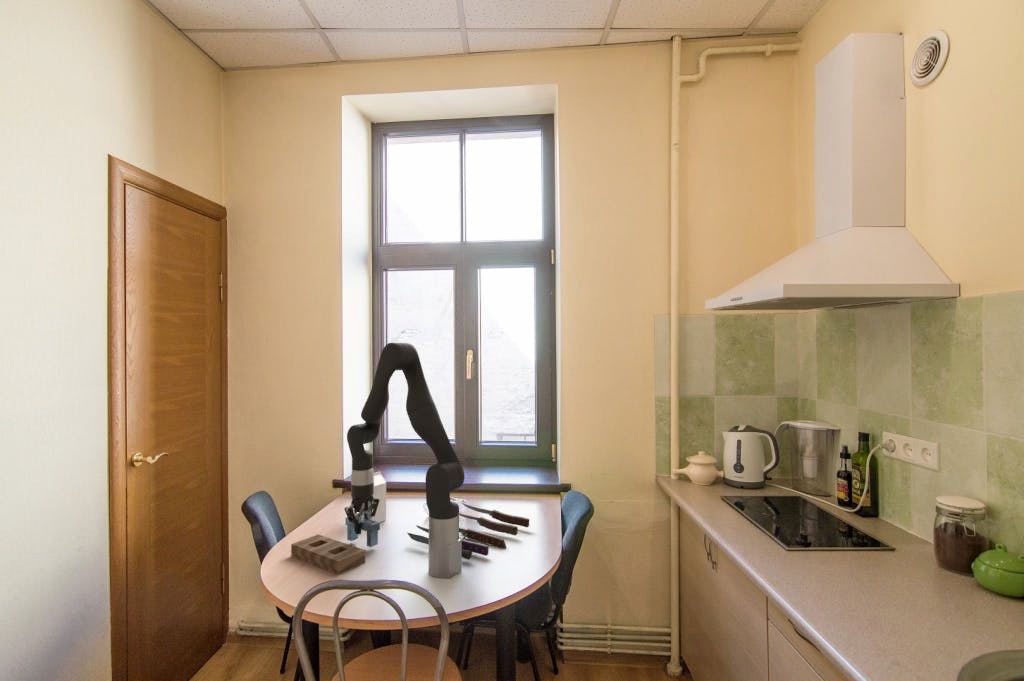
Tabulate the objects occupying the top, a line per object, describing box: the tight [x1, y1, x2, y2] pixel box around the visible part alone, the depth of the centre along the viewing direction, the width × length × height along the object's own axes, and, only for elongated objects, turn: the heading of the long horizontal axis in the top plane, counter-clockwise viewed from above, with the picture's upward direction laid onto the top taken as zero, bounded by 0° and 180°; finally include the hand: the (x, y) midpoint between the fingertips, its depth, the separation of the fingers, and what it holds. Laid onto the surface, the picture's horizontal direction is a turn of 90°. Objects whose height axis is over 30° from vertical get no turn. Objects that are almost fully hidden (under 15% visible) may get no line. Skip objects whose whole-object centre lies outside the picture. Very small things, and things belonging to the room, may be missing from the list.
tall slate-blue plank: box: [344, 516, 381, 548], centre depth 166 cm, size 14×3×8 cm, turn 57°
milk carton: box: [362, 470, 387, 523], centre depth 191 cm, size 7×7×19 cm
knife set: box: [406, 501, 530, 560], centre depth 174 cm, size 35×33×8 cm
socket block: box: [290, 534, 366, 575], centre depth 156 cm, size 24×10×4 cm, turn 57°
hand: (362, 531), depth 166 cm, fingers closed on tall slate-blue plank, 3 cm apart
